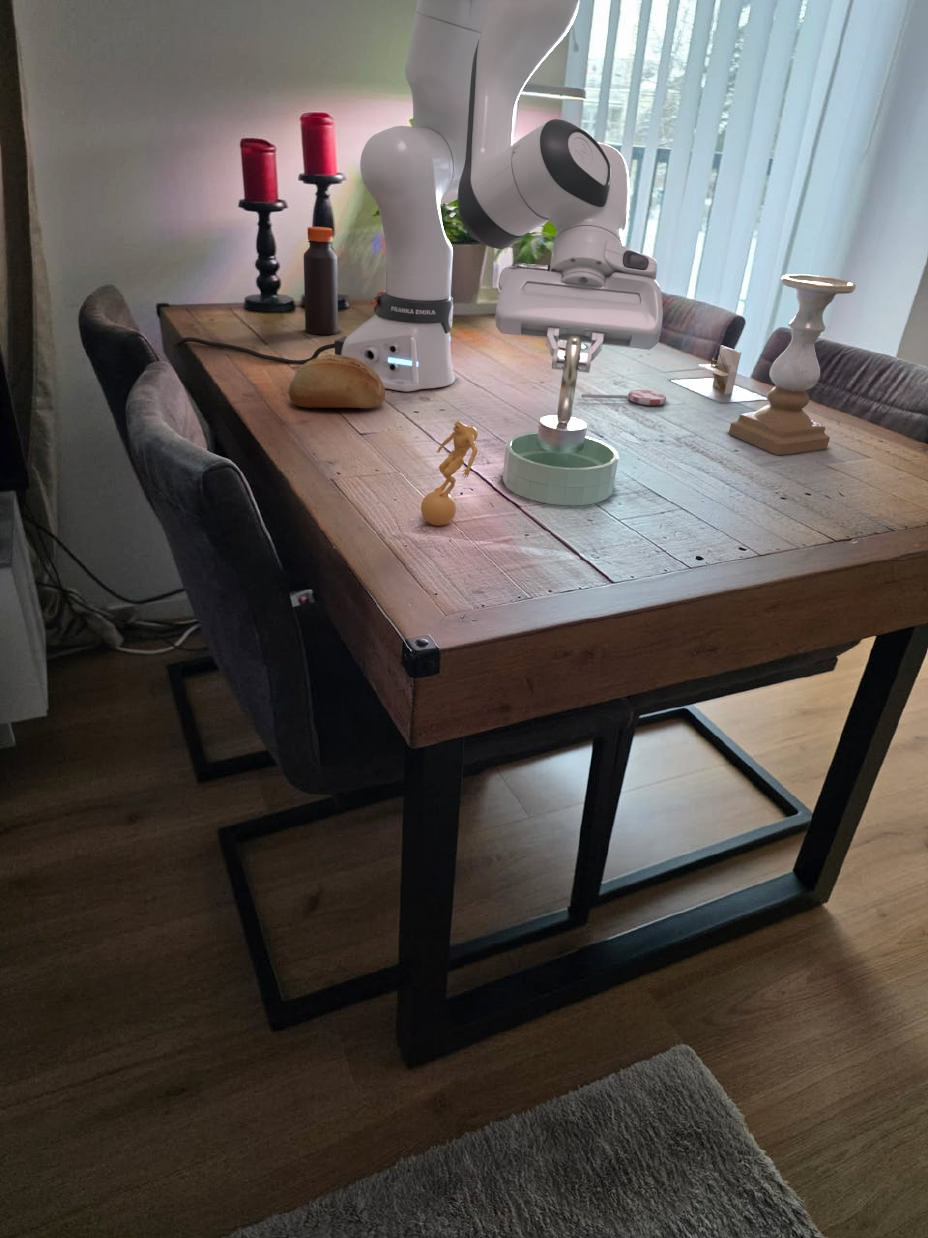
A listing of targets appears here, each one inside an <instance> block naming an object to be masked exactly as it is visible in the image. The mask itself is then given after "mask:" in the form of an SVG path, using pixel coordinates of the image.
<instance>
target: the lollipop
mask: <svg viewBox="0 0 928 1238" xmlns="http://www.w3.org/2000/svg"><path fill="white" fill-rule="evenodd" d="M581 398H583V399H584V398H585V399H621V400H629V401H631V402H633V403H635V404H639V405H642V406H661V405H664V404H665V403H666V401H667V397H666V395H665V394H663V393H661V392H659V391H655V390H649V389H634V390H631V391H629V392H628V393H627V395H626V394H592V393H591V394H588V393H587V394H586V393H582V394H581Z"/></svg>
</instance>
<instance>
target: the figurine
mask: <svg viewBox="0 0 928 1238" xmlns="http://www.w3.org/2000/svg"><path fill="white" fill-rule="evenodd" d="M452 430H453V432H452V433H451V434H450V435H449V436H448V437H447V438H446V439H445V440H444V441H443V442H442V443H441V444H440V446H439V447H438V449H437V450H436V453H437V454H438V453H440V452H441V450H442V449H443V448H444V446H446V445H447V444H449V443H450V442H451V441H453V448H454V449H452V450H451V451H450V452H449V454H448V456H447V457H446V458H445V459H444V461H442V463H440V464H439V466H438V469H439V472H440V473H441V474H442V475H443V477H444V478H445V480H444V482H443V483H442V484H441V485H440V486H439V487H436V488H435V489H434V490H433V491H431V492H429V493H427V494H426V495H425V496H424V498H423V499H422V502H421V505H420V512H421V516H422V517H423V520H425V521H426V522H427V523H428V524H430V525H431V526H435V527H441V526H442V527H443V526H445V525H447V524H449V523H450V522H451V521H453V519H454V517H455V515H456V512H457V504H456V501H455V499H454V497H453V496H452V495H451V494H450V493H451V491H452V490H453V489H454V487H455V485H456V480H457V479H456V478H455V477H454V476H453V475H454V474H455V473H456V472H457V471H458V470H460V469H461V467H462V466H463V465H464V464H465V459H464V457H465V456H466V455H467V452H468V451H469V450H470V449H471V450H472V451H471V454H470V457H469V459H468V463H467V467H466V468H464V469H463V470H462V471H461V472H463V473H462V475H461V477H463V479H465V478H468V477H469V474H470V473H471V468H472V466H473V464H474V461H475V458H476V456H477V454H478V447H477V444H476V440H477V437H478V430H477V429H476V428H475V427H474V426H472V425H467V424H464V423H462V421H460V420H457V421H455V422H454V426H453V428H452ZM449 483H450V485H449ZM447 486H448V487H447Z"/></svg>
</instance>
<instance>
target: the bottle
mask: <svg viewBox="0 0 928 1238" xmlns="http://www.w3.org/2000/svg"><path fill="white" fill-rule="evenodd" d="M307 240H308V241H307V242H308V243H309V248H307V249H306V251H305V252H304V253H303V284H304V285H303V286H304V287H303V288H304V290H303V291H304V292H303V293H304V325H305V326H304V327H305V329H304V330H305V332H307V333H308V334H312V335H315V336H316V335H317V336H330V335H335V334H337V333H338V331H339V315H338V314H339V313H338V311H339V309H338V308H339V306H338V303H339V302H338V299H339V298H338V296H339V295H338V294H339V293H338V255H337V253H335V251H334V250H333V249H332V244H333V228H331V227H325V226H308V227H307Z"/></svg>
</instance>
